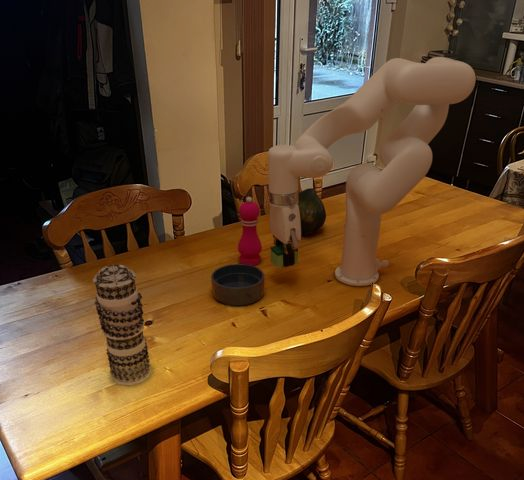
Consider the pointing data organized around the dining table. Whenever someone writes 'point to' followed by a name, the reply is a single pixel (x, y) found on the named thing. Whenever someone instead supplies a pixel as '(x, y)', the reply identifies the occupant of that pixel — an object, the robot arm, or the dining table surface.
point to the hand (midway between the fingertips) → (284, 261)
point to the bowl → (237, 284)
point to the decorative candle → (122, 324)
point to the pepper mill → (249, 233)
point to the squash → (310, 211)
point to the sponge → (280, 255)
